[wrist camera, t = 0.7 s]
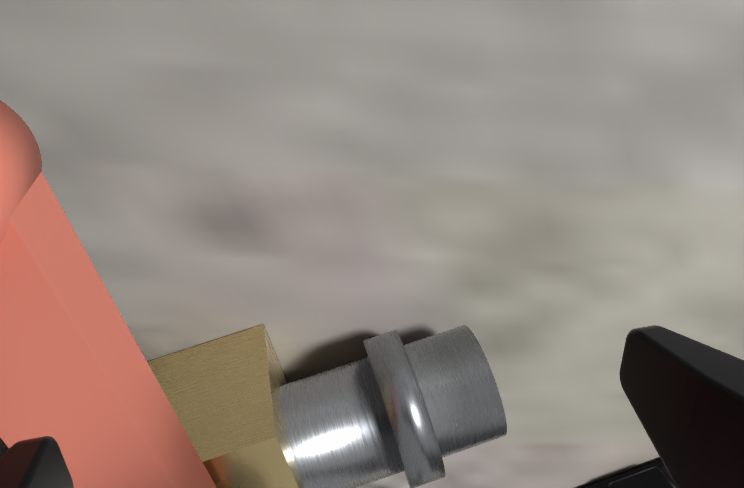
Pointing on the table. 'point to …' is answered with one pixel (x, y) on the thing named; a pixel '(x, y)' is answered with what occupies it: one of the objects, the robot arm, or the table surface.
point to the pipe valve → (332, 410)
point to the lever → (74, 345)
